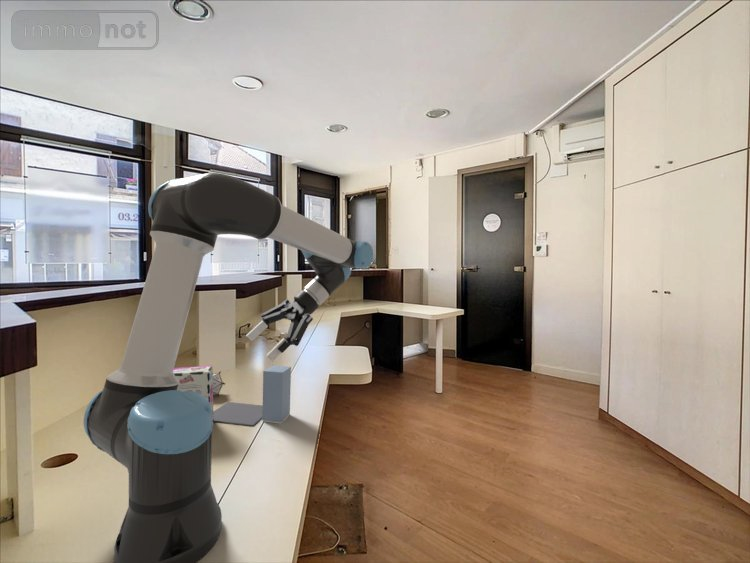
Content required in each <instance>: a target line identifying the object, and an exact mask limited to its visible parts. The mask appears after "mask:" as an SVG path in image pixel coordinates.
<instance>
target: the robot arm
mask: <svg viewBox="0 0 750 563" xmlns="http://www.w3.org/2000/svg"><path fill="white" fill-rule="evenodd" d="M147 204H148V207H147V208H148V215H149V218H150V219H151V221H152V224H151V228H150V231H149V236H150V237H151V238H152V239H153V241H154V242H155V248H154V252H153V253H152V254H153V255H152V258H151V261H150V265H149V268H148V271H147V274H146V275H147V276H146V279H145V282H144V285H143V289H142V292H141V296H140V299H139V303H138V306H137V310H136V312H135V316H134V320H133V323H132V326H131V330H130V333H129V337H128V340H127V343H126V347H125V350H124V354H123V357H122V361H121V364H120V366H119V368H118V369H115V371H113V372H111V373H110V374H108V375H107V376H106V379H105V383H104V386H103V388H102V390H101V391H100V392H98V393H96V394H95V395H94V396H93V398H91V400H90V401H89V403H88V405H87V407H86V409H85V411H84V415H83V428H84V432H85V435H87V437H88V438H89V440H90V442H91V444H92V445H94V446H95V447H97V449H98V450H100V451H101V452H104V453H106V454H107V455H109V456H110V457H111V458H112V459H114V460H115V461H117V462H118V463H120V464H121V465H122V466H124V467H125V468H126V469H127V472H128V506H127V510H126V513H125V515H124V518H123V521H122V523H121V525H120V529H119V533H118V534H117V537H116V540H115V542H114V550H113V553H114V554H113V555H114V556H113V557H114V558H113V563H197V562H199V560H201V559H202V558H203V557H204V556H205V555H206V554H207V553H209V551H210V550H211V549H212V548H213V547H214V546H215V545H216V543H217V541H218V540H219V537H220V535H221V532H222V518H223V516H222V510H221V507H220V504H219V503H218V501H217V498H216V495H215V492H214V489H213V486H212V453H213V452H212V449H213V448H212V447H213V445H212V444H213V438H212V437H213V428H214V422H213V419H212V411H211V405H210V403H209V401H208V400H207V399H206V398H205V397H204V396H203V395H201V394H199V393H196V392H192V391H184V392H181V390H177V388H178V384H179V380H178V379H177V378H176V376H175V375H174V373H173V369H174V368H175V364H176V361H177V358H178V354H179V351H180V346H181V342H182V338H183V335H184V331H185V327H186V323H187V320H188V315H189V313H190V312H189V311H190V309H191V305H192V301H193V297H194V293H195V290H196V286H197V282H198V278H199V275H200V271H201V268H202V263H203V259H204V256H206V255H208V254H209V253H212V252H213V251H214V250H215V247H216V243H217V242H216V241H217V238H218V235H219V236H220V235H239V236H240V235H242V236H247V237H250V238H253V239H257V240H266V239H270V240H273V241H277V242H279V243H281V244H284V245H287V246H289V247H292V248H294V249H295V248H296V249H297V250H300V252H301V253H302V254H303V257H304V259H305V260H306V262H308V264H309V265H310V267H311V268H312V269H313V272H314V273H315V274H316V276H315V277H314V278H313V279H311V280H310V281H309V282H308V283H307V284H306V285H305V286H304V287H303V289H302V290H300V291H298V292H297V294H296V295H294V297H293V302H291V301H290V300H289V299H287V298H286V299H285V300H283V301H282V302H281V303H279V304H277V305H276V306H274V307H272V308H270V309H268V310H266V311H264V312H263V313H261V314H260V317H261V320H260V321H259V322H258V323H257V324H256V325H255V326H254V327H253V328H252V329H251V330H250V331H249V332H248V333H247V334H246V335H245V337H247V338H248V339H249V340H250V341H251V342H253V341H254V340H256V339H257V338H258V336H260V335H261V334H262V332H264V331H265V330H266V329H267V328H268V327H269V325H270V324H272V323H276V322H279V321H281V320H283V319H285V320H288V321H290V324H289V327H288V330H287V331H288V332H287V333H286V336H285V337H283V338H282V339H281V340H280V341H279V342H277V344H276V345H274V347H272V348H271V349H270V350H269V351H268V352H267V353H266V354H265V357H267V358H268V359H269V360H270V361H271V362H274V361H275V360H276V359H277V358H278V357H279V355H281V354H282V353H284V352H285V351H286V350H287V349H288V348H289V347H291V346H292V345H294V346H295V347H298V346H299V344H300V343H301V341H302V339H303V336H304V335H305V332H306V330H307V329H308V327H309V325H310V323H311V322H312V321H313V320H314V318H313V317H312V316H311V315H313V313H314V312H315V311H316V310H317V309H318V308H319V306H321V305H323V303H324V302H326V300H327V299H328V298H329V297H330V296H332V295H333V293H334V292H336V290H338V289H339V288H340V287H341V286H342V285H343V284H345V282H346V281H347V280H348V279H349V277H350V276H351V274H352V269H357V270H359V269H367V268H369V267H370V266H371V264H372V263H373V259H374V249H373V247H372V246H373V245H371V244H370V243H369V242H367V241H361V240H356V241H355V240H352V239H351V238H348V237H346V236H344V235H342V234H340V233H338V232H337V231H334V230H332V229H330V228H328V227H326V226H325V225H323V224H320V223H318V222H316V221H314V220H313V219H310V218H308V217H306V216H305V215H303V214H300V213H299V212H296V211H294V210H293V209H290V208H288V207H287V206H284V205H283V204H282V202H281V201H280V199H279V198H278V197H277V196H276V195H274V194H272V193H270V192H268V191H266V190H264V189H262V188H260V187H258V186H256V185H254V184H252V183H250V182H248V181H245V180H242V179H240V178H237V177H234V176H233V175H232V176H231V175H229V174H224V173H219V172H209V173H208V172H207V173H203V174H199V175H194V176H190V177H180V178H174V179H171V180H168V181H166V182H165V183H162V184H161V185H158V187H157V188H156V189H155V190H153V191H152V193H151V195H150V197H149V200H148V203H147Z"/></svg>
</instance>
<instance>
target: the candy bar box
mask: <svg viewBox="0 0 750 563" xmlns="http://www.w3.org/2000/svg"><path fill="white" fill-rule="evenodd" d="M173 373H174V375H175V376H176V378H177V379H178V380H179V384H178V388H177V390H181V392H184V391H192V392H196V393H199V394H201V395H203V396H204V397H205V398H206V399H207V400H208V401H209V403H210V405H211V411H212V419H213V412H214V395H213V374H214V373H213V365H201V366H199V365H198V366H187V367H186V366H183V367H174V369H173Z"/></svg>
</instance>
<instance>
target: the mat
mask: <svg viewBox="0 0 750 563" xmlns="http://www.w3.org/2000/svg"><path fill="white" fill-rule="evenodd" d="M262 412H263V404H261V405H260V404H253V403H252V404H251V403H243V402H242V403H240V402H230V401H227V402H225V403H223V405H221V406H219V407H218V408H217V409H215V410H213V423H221V424H230V425H237V426H239V425H240V426H248V427H254V426H255V425H256V424H258V423H259V422H260V420H261V421H262Z"/></svg>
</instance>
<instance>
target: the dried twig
mask: <svg viewBox="0 0 750 563" xmlns="http://www.w3.org/2000/svg"><path fill="white" fill-rule="evenodd" d="M221 373H222V372H221V371H219V372H218V373H213V396H216V395H217V397H220V392H221V390H222V387H223V386H225V385H226V383H225V382H224V381H223V379H222V376H221Z"/></svg>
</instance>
